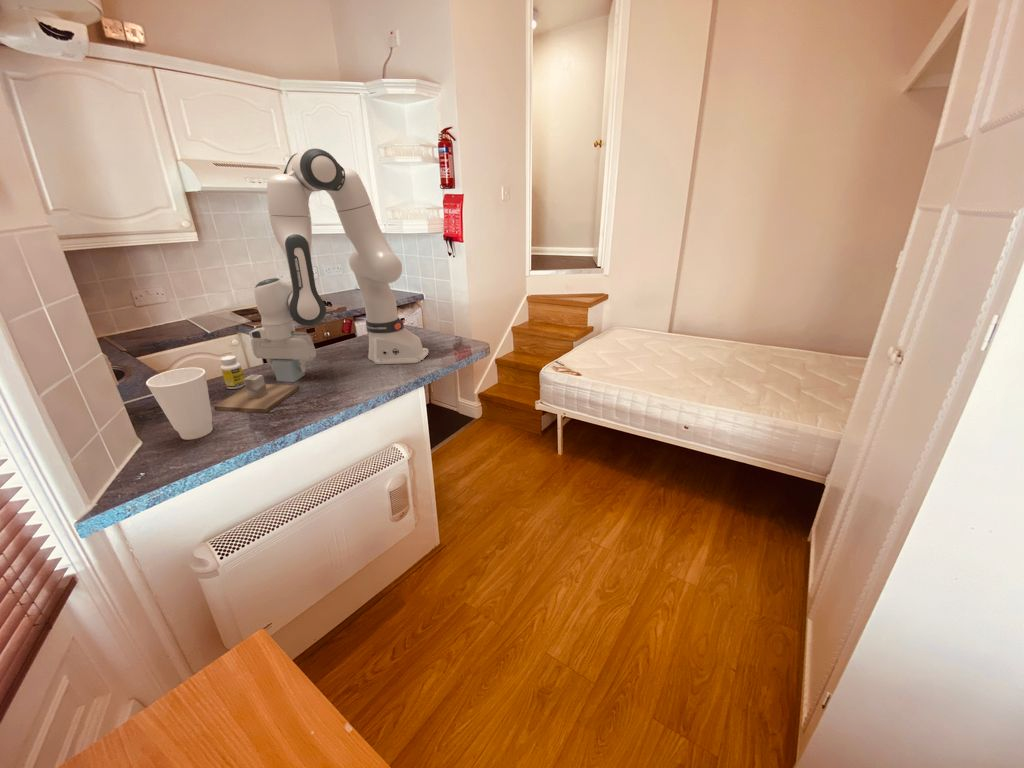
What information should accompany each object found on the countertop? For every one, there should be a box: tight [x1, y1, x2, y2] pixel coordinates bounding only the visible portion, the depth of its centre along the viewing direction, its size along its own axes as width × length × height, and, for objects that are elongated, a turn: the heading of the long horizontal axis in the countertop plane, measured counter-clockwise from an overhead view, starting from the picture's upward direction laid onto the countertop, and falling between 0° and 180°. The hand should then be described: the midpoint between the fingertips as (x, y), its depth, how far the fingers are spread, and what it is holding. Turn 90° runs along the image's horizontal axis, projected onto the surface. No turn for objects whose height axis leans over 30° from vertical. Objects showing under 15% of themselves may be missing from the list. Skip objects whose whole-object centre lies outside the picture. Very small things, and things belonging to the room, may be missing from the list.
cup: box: [145, 366, 214, 441], centre depth 107 cm, size 12×12×16 cm
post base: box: [213, 374, 300, 414], centre depth 126 cm, size 16×16×7 cm
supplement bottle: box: [220, 355, 246, 390], centre depth 135 cm, size 5×5×10 cm
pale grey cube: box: [272, 359, 306, 383], centre depth 141 cm, size 6×6×7 cm
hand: (289, 370), depth 141 cm, fingers open, 8 cm apart
